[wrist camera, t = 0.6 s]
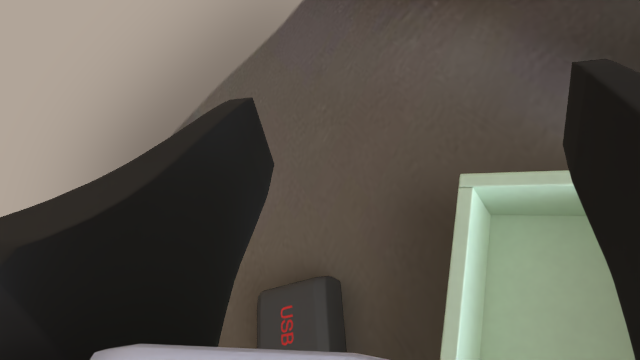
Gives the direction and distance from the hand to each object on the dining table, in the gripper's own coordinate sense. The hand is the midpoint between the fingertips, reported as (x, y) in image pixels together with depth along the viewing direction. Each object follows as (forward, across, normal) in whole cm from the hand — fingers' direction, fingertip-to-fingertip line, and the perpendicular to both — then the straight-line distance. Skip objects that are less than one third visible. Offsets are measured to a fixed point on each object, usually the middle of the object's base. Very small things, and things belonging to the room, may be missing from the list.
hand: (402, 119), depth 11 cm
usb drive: (+5, +8, +21) cm, 23 cm away
